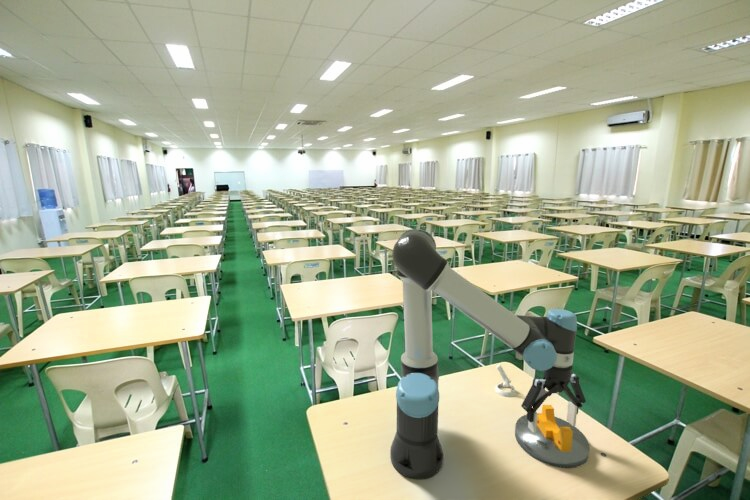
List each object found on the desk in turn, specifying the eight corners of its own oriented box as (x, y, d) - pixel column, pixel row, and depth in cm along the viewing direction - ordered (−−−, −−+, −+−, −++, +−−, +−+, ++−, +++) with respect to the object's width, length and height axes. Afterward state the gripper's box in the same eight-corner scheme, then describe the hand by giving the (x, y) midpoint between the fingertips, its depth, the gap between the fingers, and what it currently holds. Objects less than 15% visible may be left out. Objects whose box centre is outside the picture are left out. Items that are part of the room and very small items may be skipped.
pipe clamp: (535, 423, 109) (537, 405, 108) (549, 423, 109) (550, 404, 108) (555, 451, 97) (557, 431, 96) (570, 451, 97) (572, 431, 96)
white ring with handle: (484, 368, 137) (500, 360, 135) (501, 396, 135) (517, 389, 133) (483, 373, 131) (499, 365, 128) (500, 403, 128) (517, 396, 126)
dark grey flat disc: (544, 474, 93) (544, 466, 92) (502, 425, 112) (502, 418, 112) (605, 461, 97) (606, 453, 96) (555, 416, 116) (555, 409, 116)
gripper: (528, 373, 94) (522, 442, 97) (604, 363, 99) (596, 428, 102) (512, 360, 101) (507, 424, 105) (583, 351, 106) (577, 412, 110)
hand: (551, 426), depth 104 cm, fingers open, 13 cm apart
